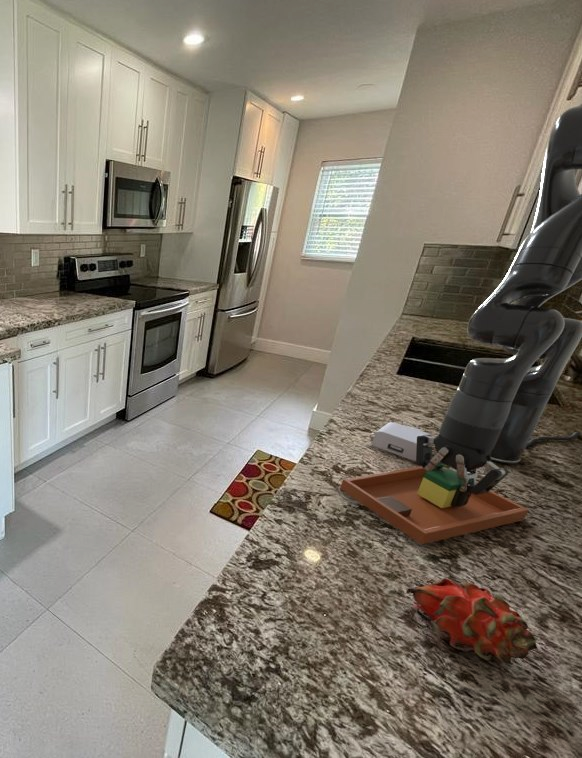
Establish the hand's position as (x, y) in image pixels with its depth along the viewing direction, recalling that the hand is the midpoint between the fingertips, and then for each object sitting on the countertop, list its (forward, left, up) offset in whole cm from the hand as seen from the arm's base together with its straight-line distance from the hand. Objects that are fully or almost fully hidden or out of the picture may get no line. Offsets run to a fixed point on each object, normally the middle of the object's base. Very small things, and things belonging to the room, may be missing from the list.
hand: (440, 497), depth 78 cm
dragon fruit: (+28, +21, -2) cm, 35 cm away
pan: (+3, 0, -1) cm, 3 cm away
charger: (-16, -19, -2) cm, 24 cm away
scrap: (+13, 0, -1) cm, 13 cm away
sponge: (0, 0, 0) cm, 0 cm away
